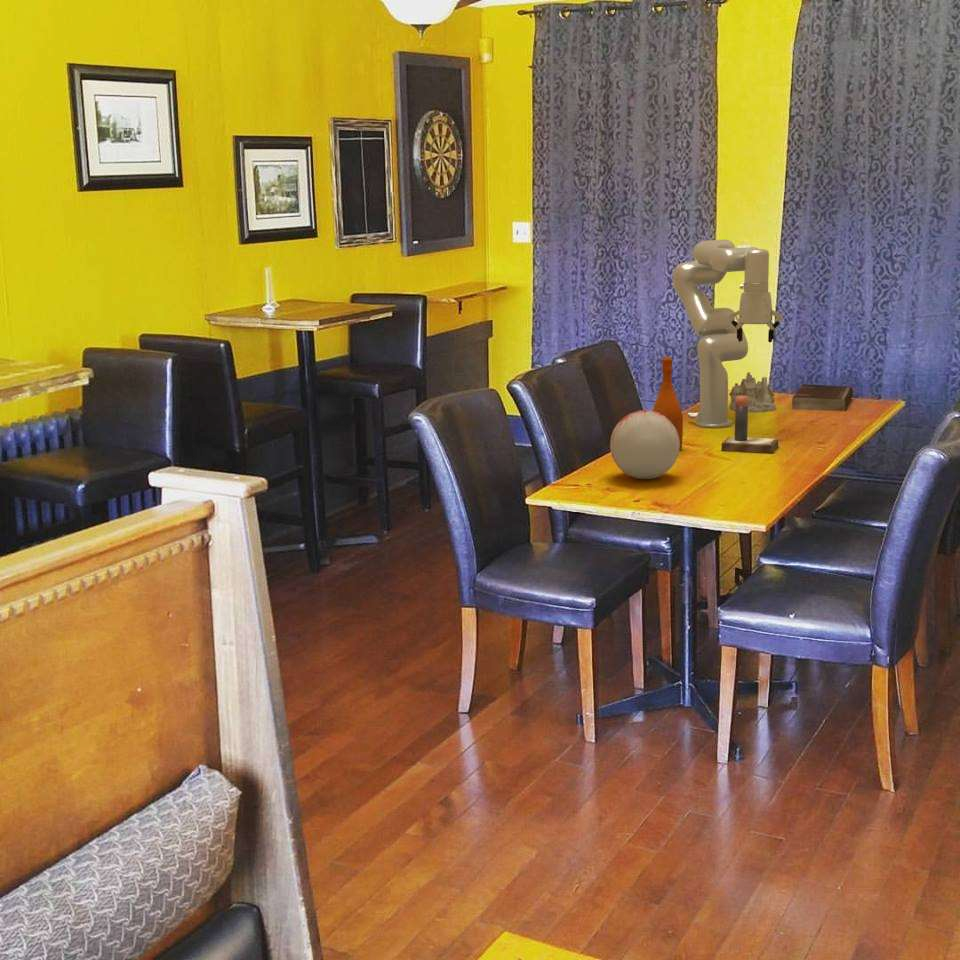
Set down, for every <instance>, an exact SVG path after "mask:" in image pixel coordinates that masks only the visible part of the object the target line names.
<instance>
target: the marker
mask: <svg viewBox="0 0 960 960" xmlns="http://www.w3.org/2000/svg"><path fill="white" fill-rule="evenodd" d="M748 417H749V413H748V396H743V395H740V396H735V411H734V436H733V437H734V440H735V441H747V438H748V424H749V419H748Z"/></svg>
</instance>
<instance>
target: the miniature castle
mask: <svg viewBox="0 0 960 960" xmlns="http://www.w3.org/2000/svg"><path fill="white" fill-rule="evenodd" d="M740 395H743V396H748V414H750V413H752V414H753V413H767V412H768V411H769V412H775V410H776V411H777V406H776V403H775V398H774V396H775V395H776V394H775V393H774V392H773V391H772V390H771V389H770V387H769V384H768V377H766V376H762V377H761V381H760V380H758V381H756V377H753V375H752V374H751V372H749V371H748V372H747V373H746V375H745V378H742V379H741V382H740V385H739V383H738V382H735V383H734V386H732V388H731V391H730V392H729V393H728V396H730V403H729V405H728V409H729V408H730V409H731V411H734V412H735V396H740ZM730 409H729V410H730ZM749 412H750V413H749Z"/></svg>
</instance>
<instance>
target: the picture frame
mask: <svg viewBox="0 0 960 960" xmlns="http://www.w3.org/2000/svg"><path fill="white" fill-rule="evenodd" d="M734 437H735V436H728V437H727V438H726V439H725V440H724V441H722V443H721V452H731V451H732V452H735V453H749V452H751V454H752V452H753V454H771V455H772V454H774V453H775V452H776V450H777V449H778V448H779V439H777V438H776V439H775V438H767V437H766V438H763V437H762V438H761V437H747V441H735V440H734Z"/></svg>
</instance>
